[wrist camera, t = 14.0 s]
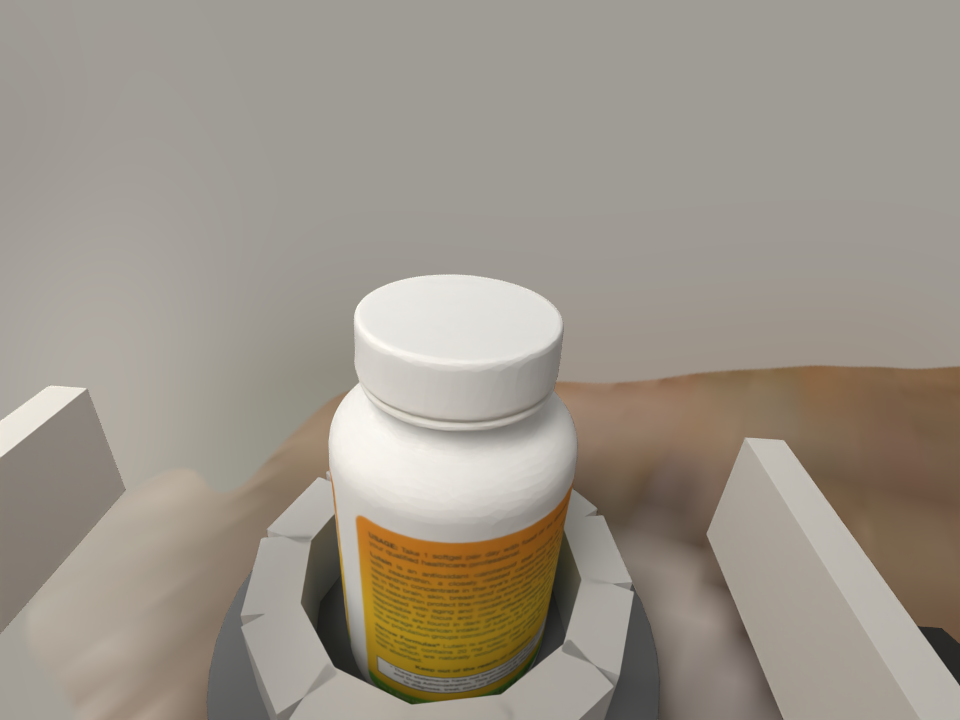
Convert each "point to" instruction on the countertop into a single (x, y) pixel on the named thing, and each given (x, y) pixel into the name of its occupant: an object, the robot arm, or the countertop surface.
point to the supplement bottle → (451, 484)
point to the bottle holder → (380, 716)
